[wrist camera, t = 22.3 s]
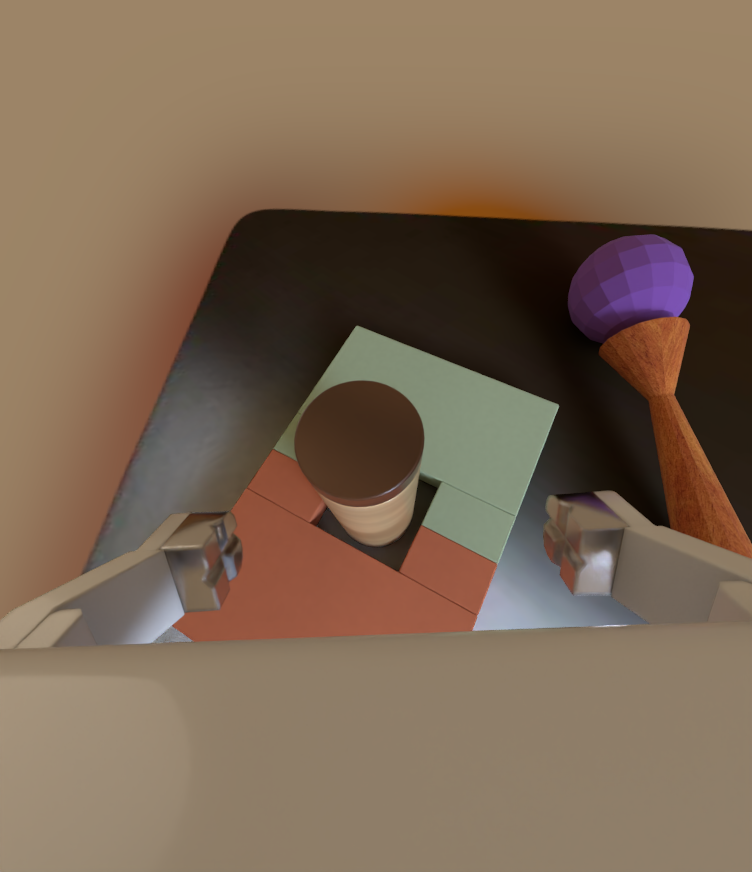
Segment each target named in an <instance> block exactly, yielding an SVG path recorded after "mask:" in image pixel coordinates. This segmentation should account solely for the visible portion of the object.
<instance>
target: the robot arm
mask: <svg viewBox="0 0 752 872" xmlns="http://www.w3.org/2000/svg"><path fill="white" fill-rule="evenodd" d="M545 510H546V512H547V513H548V514H549V516H550V519H549V520H548V521H547V522H546V523H545V524H544V528H543V540H544V547H545V550H546V552H547V555H548V557H549V558H550V560H551V562H552V563H554V564H556V565H558V566H559V567H561V570H560V576H561V578H562V579H563V581H564V582H565V584H566V585H567V587H568V589H569V590H570V592H571V593H572V595H573V596H577V595H611V597H612V598H614V599H615V600H616V601H618V602H619V603H621V604H622V605H624V606H625V607H627V608H628V609H629V610H631V611H632V612H634V613H635V614H637V615H638V616H639V617H641V618H642V619H644V620H645V621H647V622H648V623H649V624H641V625H616V626H590V627H564V628H538V629H512V630H487V631H461V632H435V633H409V634H383V635H357V636H330V637H304V638H278V639H252V640H226V641H200V642H174V643H152V642H153V641H154V640H156V639H157V638H158V637H159V636H160V635H161V634H163V633H164V632H165V631H166V630H167V629H168V628H170V627H171V626H172V625H173V624H174V623H175V622H177V621H178V620H179V619H180V618H181V617H182V616H184V615H185V613H188V612H202V611H216V610H220V609H221V607H222V605H223V603H224V601H225V599H226V597H227V595H228V593H229V591H230V586H229V582H230V581H231V580H233V579H234V578H235V577H237V575H238V573H239V571H240V569H241V566H242V560H243V547H242V542H241V540H240V539H239V538H238V537H237V536H236V535H235V534H234V531H235V529H236V527H237V522H236V518H235V515H234V514H233V513H232V512H231V511H224V512H195V513H192V512H189V513H176V514H171V515H170V516H169V517H168V518H167V519H166V520H165V521H164V522H163V523H162V524H161V525H160V526H159V527H158V529H157V530H156V531H155V532H154V533H153V534H152V535H151V536H150V537H149V538H148V539H147V540H146V541H145V542H144V543H143V544H142V545H141V546H140V547H139V548H138V549H137V550H136V551H130V552H128V553H126V554H124V555H122V556H120V557H118V558H116V559H114V560H112V561H109V562H107V563H105V564H103V565H101V566H99V567H97V568H95V569H93V570H91V571H89V572H87V573H85V574H83V575H81V576H79V577H77V578H75V579H73V580H71V581H69V582H67V583H65V584H63V585H61V586H59V587H57V588H55V589H53V590H51V591H50V592H47V593H45V594H43V595H41V596H39V597H37V598H35V599H33V600H31V601H29V602H27V603H25V604H23V605H21V606H19V607H17V608H15V609H13V610H12V611H10V612H9V613H8V614H7V615H6V616H4V617H3V618H2V619H1V620H0V872H752V559H751V558H748V557H745V556H743V555H740V554H737V553H735V552H732V551H729V550H726V549H724V548H721V547H718V546H716V545H713V544H710V543H708V542H705V541H702V540H699V539H697V538H694V537H691V536H689V535H686V534H683V533H680V532H678V531H675V530H672V529H670V528H667V527H664V526H655V525H654V524H652V523H651V522H650V521H649V520H648V519H647V518H645V517H644V516H643V515H642V514H641V513H639V512H638V511H637V510H636V509H635V508H634V507H632V506H631V505H630V504H629V503H628V502H627V501H625V500H624V499H623V498H622V497H621V496H620V495H618V494H617V493H616V492H614V491H610V490H609V491H598V492H585V493H572V494H559V495H549V496H548V499H547V501H546V509H545Z"/></svg>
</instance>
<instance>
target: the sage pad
mask: <svg viewBox="0 0 752 872" xmlns="http://www.w3.org/2000/svg"><path fill="white" fill-rule="evenodd" d="M356 380H367V381H375V382H379V383H382V384H386V385H388V386H390V387H392V388H394V389H396V390H397V391H399V392H401V393H402V394H403V395H404V396H405V397H407V398H408V399H409V401H410V402H411V403H412V404H413V405H414V407H415V408H416V410H417V411H418V413H419V415H420V418H421V420H422V423H423V428H424V437H425V440H424V450H423V456H422V462H421V468H420V474H419V479H420V480H422V481H424V482H426V483H428V484H430V485H432V486H434V487H437V488H438V490H437V492H436V494H435V496H434V498H433V500H432V502H431V504H430V507H429V509H428V511H427V513H426V515H425V517H424V519H423V521H422V523H421V525H422V526H424V527H426V528H428V529H430V530H432V531H434V532H436V533H438V534H440V535H442V536H444V537H446V538H448V539H450V540H452V541H454V542H456V543H458V544H460V545H462V546H464V547H465V548H467V549H469V550H471V551H473V552H475V553H477V554H479V555H481V556H483V557H485V558H487V559H489V560H491V561H493V562H495V563H496V564H498V562H499V560H500V557H501V555H502V552H503V550H504V547H505V544H506V542H507V539H508V537H509V534H510V531H511V529H512V526H513V524H514V521H515V519H516V516H517V513H518V511H519V508H520V505H521V503H522V500H523V498H524V495H525V493H526V490H527V487H528V485H529V482H530V480H531V477H532V474H533V472H534V469H535V467H536V464H537V462H538V459H539V456H540V454H541V451H542V449H543V446H544V443H545V441H546V438H547V436H548V433H549V431H550V428H551V425H552V423H553V420H554V418H555V415H556V413H557V410H558V407H559V405H558V404H555V403H553V402H550V401H548V400H545V399H543V398H540V397H538V396H535V395H532V394H530V393H527V392H525V391H522V390H520V389H517V388H515V387H512V386H510V385H507V384H504V383H502V382H499V381H497V380H494V379H492V378H489V377H487V376H484V375H482V374H479V373H476V372H474V371H471V370H469V369H466V368H464V367H461V366H459V365H456V364H454V363H451V362H448V361H446V360H443V359H441V358H438V357H436V356H433V355H431V354H428V353H426V352H423V351H420V350H418V349H415V348H413V347H410V346H408V345H405V344H403V343H400V342H398V341H395V340H392V339H390V338H387V337H385V336H382V335H380V334H377V333H375V332H372V331H370V330H367V329H364V328H362V327H359V326H356V327H355V328H354V330H353V331H352V333H351V334H350V336H349V337H348V339H347V340H346V342H345V343H344V345H343V346H342V348H341V349H340V351H339V352H338V354H337V355H336V357H335V358H334V360H333V361H332V362H331V364H330V365H329V367H328V368H327V370H326V371H325V373H324V374H323V376H322V377H321V379H320V380H319V382H318V383H317V385H316V386H315V388H314V389H313V391H312V392H311V393H310V395H309V396H308V398H307V399H306V401H305V402H304V404H303V405H302V407H301V408H300V410H299V411H298V413H297V414H296V416H295V417H294V419H293V420H292V422H291V423H290V424H289V426H288V427H287V429H286V430H285V432H284V433H283V435H282V436H281V438H280V439H279V441H278V442H277V444H276V445H275V447H274V450H276V451H278V452H280V453H282V454H284V455H286V456H288V457H290V458H292V459H294V460H296V461H297V459H296V455H295V450H294V438H295V431H296V427H297V424H298V422H299V419H300V417H301V415H302V413H303V412H304V410H305V409H306V407H307V406H308V405H309V404H310V403H311V401H312V400H313V399H315V398H316V397H317V396H318V395H319V394H321V393H322V392H324V391H325V390H327V389H329V388H331V387H333V386H335V385H338V384H341V383H345V382H349V381H356Z"/></svg>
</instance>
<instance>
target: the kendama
mask: <svg viewBox="0 0 752 872" xmlns="http://www.w3.org/2000/svg"><path fill="white" fill-rule="evenodd" d="M693 278H694V277H693V274H692V272H691V269H690V267H689V264H688V262H687V259H686V257H685V255H684V252H683V250H682V248H680V247H678V246H677V245H675V244H673V243H672V242H670V241H668V240H666V239H664V238H661V237H659V236H656V235H638V236H624V237H621V238H619V239H616V240H613V241H610V242H608V243H607V244H605V245H603V246H602V247H600V248H598V249H597V250H596V251H595V252H594V253H593V254H591V255H590V256H589V257H588V258H587V259H586V261H585V262H584V263H583V264H582V265H581V266H580V267H579V269H578V270H577V272H576V274H575V275H574V277H573V278H572V282H571V286H570V290H569V294H568V309H569V312H570V316H571V320H572V322H573V323H574V324H575V325H576V326H577V327H578V328H579V329H580V330H581V331H582V332H583V333H584V334H585V335H586V336H587V337H588V338H589V339H590V340H592V341H595V342H599V343H603V345H602V346H601V347H600V350H599V355H600V356H601V357H602V358H603V359H604V360H605V361H606V362H607V363H608V364H609V365H610V366H611V367H613V368H614V369H615V370H616V371H617V372H618V373H619V374H620V375H621V376H622V377H623V378H624V379H625V380H626V381H628V382H629V383H630V384H631V385H632V386H633V387H634V388H635V389H636V390H637V391H638V392H639V393H640V394H642V395H643V396H644V397H645V398H646V399H647V400H648V401H649V406H650V412H651V418H652V424H653V429H654V435H655V441H656V447H657V452H658V458H659V464H660V469H661V475H662V481H663V487H664V492H665V498H666V504H667V510H668V515H669V521H670V527H671V529H672V530H675V531H678V532H680V533H683V534H686V535H689V536H691V537H694V538H697V539H699V540H702V541H705V542H708V543H710V544H713V545H716V546H718V547H721V548H724V549H726V550H729V551H732V552H735V553H737V554H740V555H743V556H745V557H748V558H751V559H752V544H751V542H750V540H749V538H748V536H747V534H746V533H745V531H744V529H743V527H742V525H741V523H740V521H739V519H738V517H737V515H736V513H735V511H734V509H733V508H732V506H731V504H730V502H729V500H728V498H727V496H726V494H725V492H724V490H723V488H722V486H721V484H720V483H719V481H718V479H717V477H716V475H715V473H714V471H713V469H712V467H711V465H710V463H709V461H708V459H707V458H706V456H705V454H704V452H703V450H702V448H701V446H700V444H699V442H698V440H697V438H696V436H695V434H694V433H693V431H692V429H691V427H690V425H689V423H688V421H687V419H686V417H685V415H684V413H683V411H682V409H681V408H680V406H679V404H678V402H677V400H676V398H675V396H674V393H675V388H676V384H677V380H678V375H679V371H680V367H681V362H682V358H683V354H684V349H685V345H686V341H687V336H688V332H689V328H690V325H689V323H688V321H687V319H683V318H679V317H678V316H679V315H680V313H681V312H682V311H683V310H684V308H685V306H686V304H687V302H688V300H689V298H690V294H691V289H692V283H693Z"/></svg>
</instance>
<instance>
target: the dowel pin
mask: <svg viewBox="0 0 752 872" xmlns="http://www.w3.org/2000/svg"><path fill="white" fill-rule="evenodd" d="M424 440H425V437H424V428H423V423H422V420H421V418H420V415H419V413H418V411H417V410H416V408H415V407H414V405H413V404H412V403H411V402H410V401H409V399H408V398H407V397H405V396H404V395H403V394H402V393H401V392H399V391H397V390H396V389H394V388H392V387H390V386H388V385H386V384H382V383H379V382H375V381H367V380H356V381H349V382H345V383H341V384H338V385H335V386H333V387H331V388H329V389H327V390H325V391H324V392H322V393H321V394H319V395H318V396H317V397H316V398H315V399H313V400H312V401H311V403H310V404H309V405H308V406H307V407H306V409H305V410H304V412H303V413H302V415H301V417H300V419H299V422H298V424H297V427H296V431H295V438H294V450H295V455H296V459H297V462H298V465H299V467H300V469H301V470H302V472H303V474H304V475H305V476H306V478H307V479H308V481H309V482H310V483H311V485H312V486H313V487H314V489H315V490H316V491H317V493H318V494H319V495H320V497H321V498H322V500H323V501H324V502H325V504H326V505H327V506H328V508H329V509H330V510H331V512H332V513H333V514H334V516H335V517H336V519H337V520H338V521H339V523H340V524H341V525H342V527H343V528H344V529H345V531H346V532H347V533H348V535H349V536H350V537H351V538H353V539H354V540H355V541H357V542H358V543H360V544H363V545H366V546H370V547H381V546H386V545H389V544H391V543H393V542H395V541H397V540H398V539H399V538H401V537H402V536H403V535H404V533H405V532H406V531H407V529H408V527H409V526H410V523H411V520H412V516H413V510H414V504H415V498H416V492H417V486H418V480H419V474H420V468H421V462H422V456H423V450H424Z"/></svg>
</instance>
